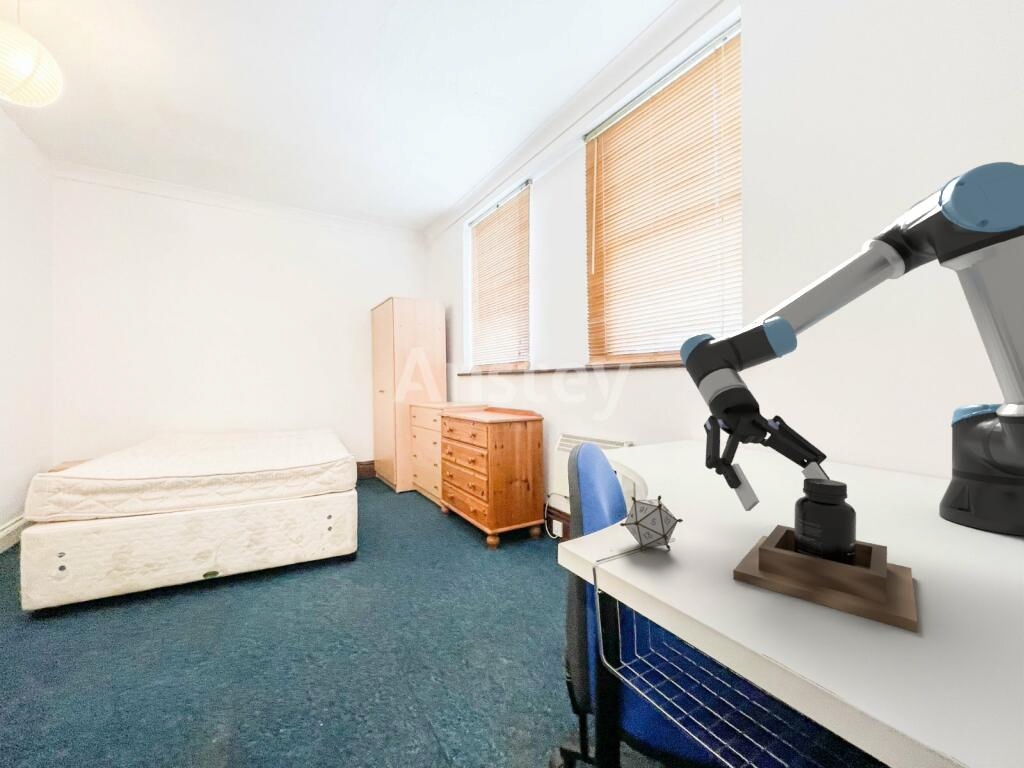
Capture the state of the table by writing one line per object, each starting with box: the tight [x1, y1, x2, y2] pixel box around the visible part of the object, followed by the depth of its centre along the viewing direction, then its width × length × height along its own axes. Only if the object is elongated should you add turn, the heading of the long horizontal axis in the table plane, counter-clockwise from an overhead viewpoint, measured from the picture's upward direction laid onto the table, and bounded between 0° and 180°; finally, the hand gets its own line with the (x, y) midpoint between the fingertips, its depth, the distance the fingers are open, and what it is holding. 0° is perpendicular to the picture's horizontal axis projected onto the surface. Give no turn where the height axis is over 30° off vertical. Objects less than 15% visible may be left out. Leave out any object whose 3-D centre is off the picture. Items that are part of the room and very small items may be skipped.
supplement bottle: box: [793, 478, 857, 566], centre depth 58 cm, size 7×7×12 cm
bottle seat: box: [732, 524, 918, 633], centre depth 58 cm, size 18×18×4 cm
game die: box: [619, 495, 684, 551], centre depth 68 cm, size 9×8×10 cm
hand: (793, 505), depth 63 cm, fingers open, 13 cm apart
